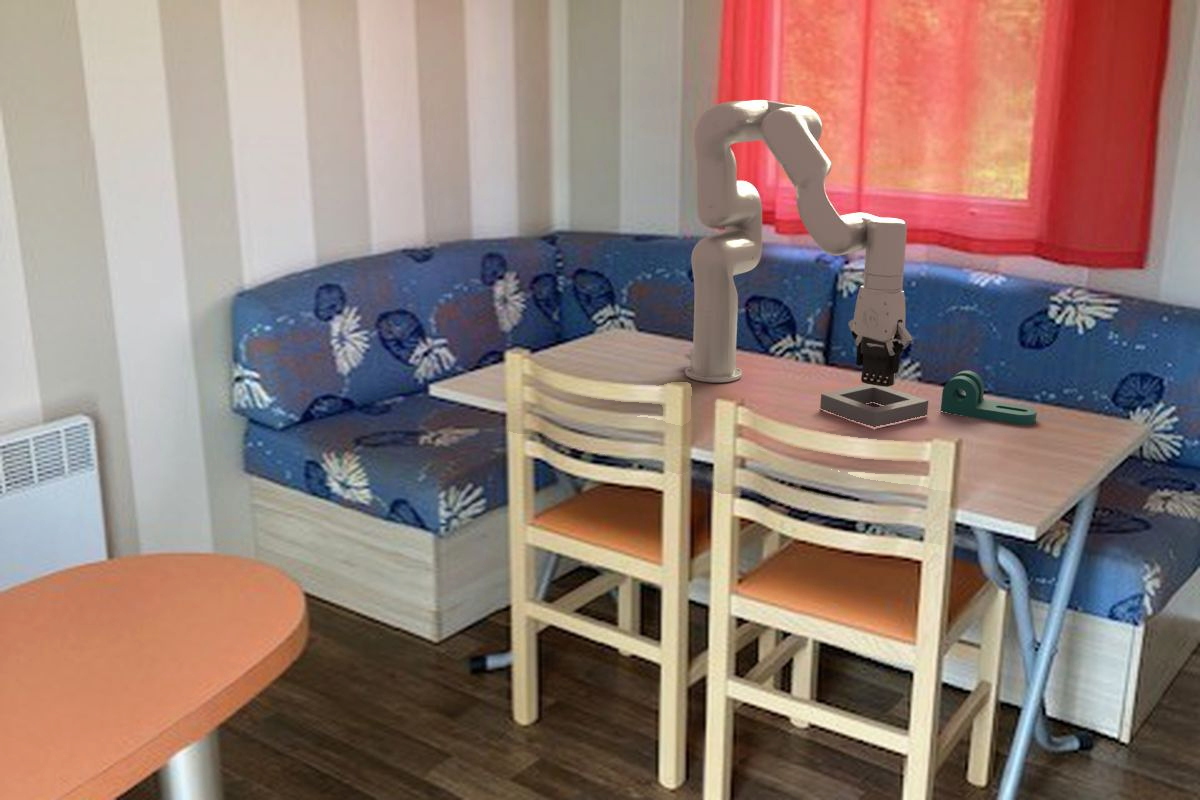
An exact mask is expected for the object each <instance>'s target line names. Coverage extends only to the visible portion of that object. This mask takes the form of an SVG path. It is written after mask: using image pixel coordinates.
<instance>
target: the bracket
mask: <svg viewBox="0 0 1200 800" xmlns="http://www.w3.org/2000/svg"><path fill="white" fill-rule="evenodd" d="M941 394H942V395H941V404H940V412H941V411H943V412H947V413H951V414H950V415H954V414H956V415H955V416H960V415H962V416H961V417H966V416H968V418H972V417H973V418H974V419H980V420H985V421H991V422H999V423H1004V424H1011V425H1016V426H1017V425H1018V426H1019V425H1020V426H1029V425H1033V424H1035V423H1036V422H1037V421H1036V420H1037V413H1038V411H1037V409H1035V408H1034V407H1031V406H1027V405H1023V404H1016V403H1015V404H1014V403H1009V402H1002V401H996V400H989V399H985V398H984V394H985V383H984V380H983V378H982V377H981V375H979V374H978V373H977V372H975V371H973V370H961V371H959V372H958V373H956V374H955V375H953V377H951V378H950V380H948V381H947V382H946V383H945V385H944V386H943V388H942V393H941ZM947 413H946V414H947Z"/></svg>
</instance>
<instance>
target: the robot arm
mask: <svg viewBox="0 0 1200 800" xmlns="http://www.w3.org/2000/svg"><path fill="white" fill-rule="evenodd" d="M822 133H823V124H822V120H821V119H820V116H819V115H818V114H817V113H816V112H815V111H814V110H813V109H811V108H810V107H808V106H804V105H797V104H790V103H783V102H777V101H773V100H772V101H770V100H765V99H751V100H750V99H749V100H735V101H734V100H733V101H727V102H721V103H718V104H716V105H714V106H711V107H709V108H708V109H707V110H705V111H704V112H703V114H701V116H700V117H699V118H698V121H697V123H696V126H695V128H694V136H693V137H694V138H693V141H694V149H695V159H696V208H697V209H696V210H697V217H698V219H699V222H700V223H701V224H702V225H703V226H704V227H706V228H709V229H722V228H723V229H724V232H721V233H716V234H711V235H708V236H705V237H703V238H702V239H700V240H699V241H698V242H697V243H696V244H695V246H693V249H692V253H691V256H690V257H691V258H690V259H691V260H690V261H691V263H690V264H691V269H692V276H693V284H694V285H693V286H694V290H693V291H694V299H693V300H694V306H693V307H694V308H693V309H694V310H693V336H692V337H693V339H692V340H693V342H692V349H691V350H690V351H689V352H686V353H685V355H684V358H685V359H687V360H689V361H690V365H689V366H687V367H686V368H685V376H686V377H687V378H689V379H691V380H694V381H699V382H702V383H715V384H716V383H717V384H718V383H731V382H734V381H737V380H739V379H741V378H742V376H743V370H742V369H741V368H740V367H737V366H736V359H737V358H736V355H737V334H738V333H737V331H738V312H739V311H738V310H739V308H738V307H739V297H738V296H739V295H738V291H737V288H736V284H735V281H734V276H736V275H740V274H743V273H747V272H749V271H752V270H753V269H755V268H756V267H757V265H758V264H759V263H760V260H761V257H762V253H763V205H762V199H761V196H760V194H759V192H758V190H757V188H756V187H755V186H754V185H753V184H752V183H750V182H748V181H746V180H737V179H738V178H737V169H738V166H737V160H736V156H735V153H734V150H733V149H732V148H731V146H732V145H733V144H739V143H750V142H758V141H762V142H764V144H765V145H766V146H767V148H768V150H769V151H770V152H771V154H772V156H773V157H774V159H776V161H777V163H778V164H779V166H780V167H781V169H782V170H783V171H784V173H785V174H786V176H787V178H788V179H789V180H790V182H791V184H792V185H793V187H794V189H795V199H796V200H795V202H796V206H797V211H798V215H799V217H800V220H801V222H802V224H803V226H804V227H805V229H806V231H807V232H808V233H809V235H810V237H811V238H812V239H813V241H814V242H815V243H816V244H817V246H818V247H819V248H820V249H821V250H822V251H823V252H825V253H826V254H828V255H830V256H835V257H836V256H838V257H839V256H842V255H847V254H850V253H855V252H860V251H861V252H862V251H865V258H864V271H863V272H862V273H861V278H862V279H863V285H861V286H860V287H859V290H858V294H857V296H856V298H857V299H856V302H855V307H854V308H855V309H854V315H853V318H852V319H850V321H848V324H847V325H848V327H849V330H850V331H851V336H852V338H853V339H854V344H855V346H857V347H856V356H855V357H856V359H855V364H856V366H863V354H861V342H862V337H866V338H869V339H872V340H876V341H880V342H886V345H887V348H888V352H889V354H888V355H887V356H886V366H885V373H886V374H887V375H889V374H894V373H896V374H897V373H899V372H900V371H899V369H900V357H901V354H903V353H904V351H905V350H906V349H907V348H908V346H910V344H911V343H912V342H913V336H912V335H911V334H910V332H909V331H908V329H907V328H906V313H907V311H906V297H905V291H904V290H903V286H904V272H905V271H904V270H905V257H906V246H907V233H908V232H907V231H908V228H907V226H908V225H907V223H906V221H904V220H903V219H900V218H895V217H894V218H893V217H879V216H875V215H873V214H870V213H866V212H852V213H847V214H842V215H840V214H839V213H838V212H837V210H836V209H835V208H834V206H833V205H832V203H831V201H830V200H829V198H828V195H827V192H826V185H825V184H826V178H827V177H828V176H829V175H830V173H831V171H832V162H831V160H830V159H829V158H828V156H827V155H826V153H825V152H824V150H823V149H822V147H821V146H820V145H819V143H818V141H819V140H820V138H821V136H822ZM894 336H895V338H894ZM892 342H895V347H894V346H893V343H892Z"/></svg>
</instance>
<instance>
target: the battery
mask: <svg viewBox="0 0 1200 800" xmlns="http://www.w3.org/2000/svg"><path fill="white" fill-rule="evenodd" d="M894 338H895V336H894ZM892 343H893V346H894V347H895V342H892ZM861 354H863V365H862V371H861V376H860V377H861V378H860V379H861V380H860V381H861V383H862V384H871V385H877V386H884V387H892V386H895V384H896V374H897V373H894V374H889V375H887V374H886V373H885V366H886V356H887V355H888V354H889V352H888V348H887V345H886V342H880V341H876V340H872V339H869V338H866V337H862V342H861Z"/></svg>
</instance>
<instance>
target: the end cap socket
mask: <svg viewBox="0 0 1200 800" xmlns="http://www.w3.org/2000/svg"><path fill="white" fill-rule="evenodd" d="M870 402H875V403H878V404H881V405H884V406H877V407H875V406H872V405H870V404H868V405H866V403H870ZM820 408H821V409H823V410H826V411H828V412H831V413H834V414H836V415H839V416H842V417H845V418H847V419H850V420H854V421H856V422H860V423H863V424H866V425H870V426H873V427H876V426H880V425H886V424H890V423H895V422H899V421H903V420H907V419H911V418H915V417H916V418H917V417H920V416H925V415H927V416H928V412H929V411H928V410H929V409H928V408H929V400H928V399H925V398H923V397H922V398H921V397H918V396H916V395H912V394H909V393H906V392H903V391H901V390H897V389H894V388H892V387H890V386H888V387H884V386H877V385H871V384H866V383H864V384H860V385H856V386H851V387H847V388H842V389H838V390H833V391H829V392H824V393H823V392H822V393H820V406H819V409H820Z"/></svg>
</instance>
